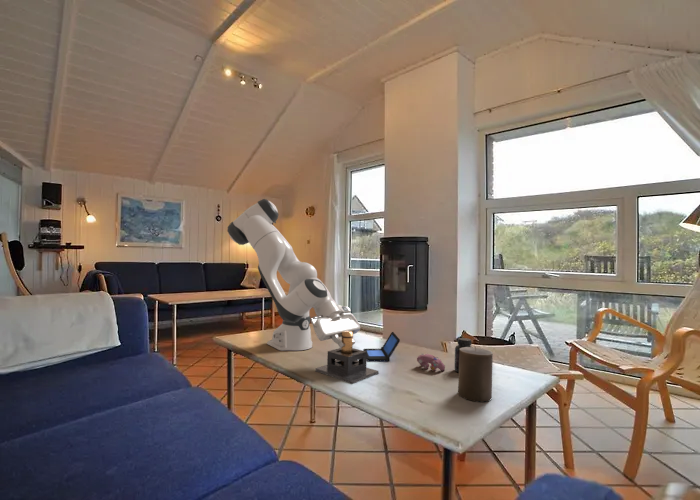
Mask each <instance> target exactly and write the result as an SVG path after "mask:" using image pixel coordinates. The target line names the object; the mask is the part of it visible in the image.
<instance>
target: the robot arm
mask: <svg viewBox="0 0 700 500" xmlns="http://www.w3.org/2000/svg"><path fill="white" fill-rule="evenodd" d="M279 215H280V214H279V211H278V208H277V207H276V205H275V204H274V203H273V202H272V201H270V200H269V199H267V198H266V199H265V198H262V199H260V200H258V201H257V202H256V203H253V205H251V206H250V207H247V208H246V209H245V210H244V211H243V212H242V213H241V214H240V215H238V217H236V218H235V219H234V220H233V221H232V222H230V223H229V225H228V226H227V230H226V231H227V233H228V235H229V238H230V239H231V240H232V241H233V243H236V244H238V245H239V246H241V245H242V246H244V245H247V244H249V245H250V246H251V248H252V249H253V250H254V252H255V254H256V256H257V260H258V266H257V270H258V273H259V274H260V277H261V279H262V281H263V283H264V285H265V287H266V289H267V291H268V293H269V295H270V296H271V298H272V300H273V303H274V305H275V307H276V310H277V313H278V315H279V317H280V318H281V320H282V321H281V322H282V323H281V324H280V325H279V326H278V327H276V329H274V331H273V332H272V337H271V338H272V339H271V340H268V341H267V342H266V345H268V346H271V348H274V349H276V350H278V351H303V350H304V351H305V350H308V349H312V347H313V341H312V331H311V326H310V324H311V325H312V328H313V331H314V333H315V336H316V337H317V339H318V340H319V341H320V342H322V341H327V340H332V341H333V342H334V343H335V344H337V345H338V347H339V348H342V347H344V346H345V343H344V341H342V339H341V338H342V337H341V335H342V331H352V332H353V335H354V334H357V333H358V332H359V331H360V330H361V324H360V323H359V321H358V320H357V318H356V316H355V315H354V314H353V313H351V311H352V310H351V308H350V307H348V306H345V305H340V304H338V303H337V302H336V300H334V298H333V297H332V295H331V292H330V291H329V289H328V288H327V286H326V284H324V283H323V281H322V280H321V279H320V278H318V271H317V269H316V268H315V266H313V264H310V263H308V262H306V261H305V262H304V261H301V260H299V258H298V257H297V255H296V254H295V252H294V249H293V246H292V245H291V244H290V242H288V240H287V239H286V237H284V235H283V234H282V233H281V232H280V231H279V229H277V227H276V226H274V225H273V224H277V221H278V219H279ZM277 273H279V275H280V276H281V278H282V280H284V282H285V283H287V284H288V285H289V287H288V292H287V293H288V294H286V293H285V290H284V289H283V287H282V285H281V283H280V281H279V278H278V276H277V275H278V274H277ZM312 308H313V310H314V313H315V315H316V316H315V315H314V316H312V317H311V315H310V310H311V309H312ZM355 344H356V341H355V339H354V338H353V346H354V345H355Z"/></svg>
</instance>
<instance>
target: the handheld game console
mask: <svg viewBox="0 0 700 500" xmlns="http://www.w3.org/2000/svg"><path fill="white" fill-rule="evenodd" d="M400 342H401V340H400V338H399V336H398V335H396V334H395V332H394V331H391V333H390V334H389V335H388V338H387V339H386V341H385V342H384V344H383V345H382V346H381V348H363V349H362V351H366V352H367V361H366V362H391V360H390V358H391V356H392V355H393V353H394V352H395V350H396V348H397V346H399V344H400Z"/></svg>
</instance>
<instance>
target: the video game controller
mask: <svg viewBox="0 0 700 500" xmlns="http://www.w3.org/2000/svg"><path fill="white" fill-rule="evenodd" d="M416 361H417V363H418V364H419V365H420V366H421V367H423V369H426V370H428V369H429V367H430V370H431V371H437V369H438V370H440V371H441V372H443V371H445V369H446V365H445V364H444V363H443V362H442V360H441V359H440V358H439V357H438V356H434V355H432V354H429V353H425V354H424V353H421V354H420V355H418V356H417V357H416Z"/></svg>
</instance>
